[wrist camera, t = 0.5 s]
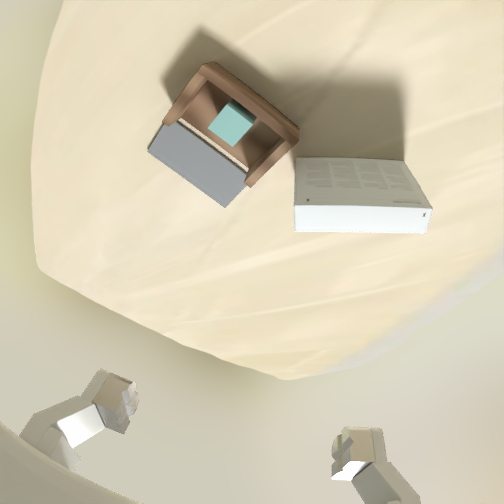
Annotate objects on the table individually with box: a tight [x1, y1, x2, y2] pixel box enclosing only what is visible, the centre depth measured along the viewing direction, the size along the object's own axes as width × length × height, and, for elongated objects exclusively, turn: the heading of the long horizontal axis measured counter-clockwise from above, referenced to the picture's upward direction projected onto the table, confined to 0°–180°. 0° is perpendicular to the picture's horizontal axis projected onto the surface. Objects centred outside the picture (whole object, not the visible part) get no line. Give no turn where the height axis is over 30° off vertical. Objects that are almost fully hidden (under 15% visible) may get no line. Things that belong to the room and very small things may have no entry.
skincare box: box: [294, 157, 433, 234], centre depth 45 cm, size 21×6×16 cm, turn 96°
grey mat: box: [147, 121, 247, 208], centre depth 55 cm, size 9×20×1 cm, turn 51°
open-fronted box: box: [162, 62, 299, 188], centre depth 45 cm, size 12×19×6 cm, turn 51°
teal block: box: [208, 99, 257, 147], centre depth 44 cm, size 5×5×7 cm
